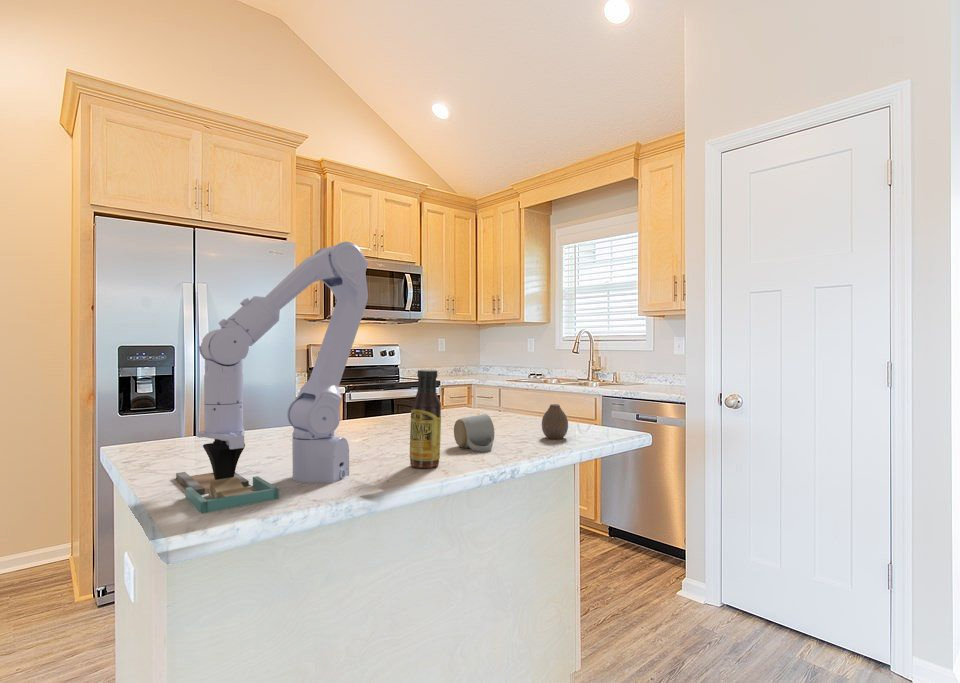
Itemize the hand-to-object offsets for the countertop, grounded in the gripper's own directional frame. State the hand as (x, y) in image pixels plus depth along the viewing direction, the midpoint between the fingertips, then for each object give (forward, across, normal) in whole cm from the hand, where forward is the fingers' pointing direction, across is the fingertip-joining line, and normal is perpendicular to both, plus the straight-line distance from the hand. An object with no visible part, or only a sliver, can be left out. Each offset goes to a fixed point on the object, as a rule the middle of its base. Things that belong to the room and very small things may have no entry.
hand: (224, 486), depth 88 cm
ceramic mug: (+3, -6, +58) cm, 59 cm away
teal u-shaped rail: (+2, +4, 0) cm, 5 cm away
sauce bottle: (+3, +1, +38) cm, 39 cm away
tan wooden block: (+2, +6, 0) cm, 7 cm away
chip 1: (+2, +2, 0) cm, 2 cm away
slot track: (+2, -8, 0) cm, 8 cm away
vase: (+3, -2, +82) cm, 82 cm away
